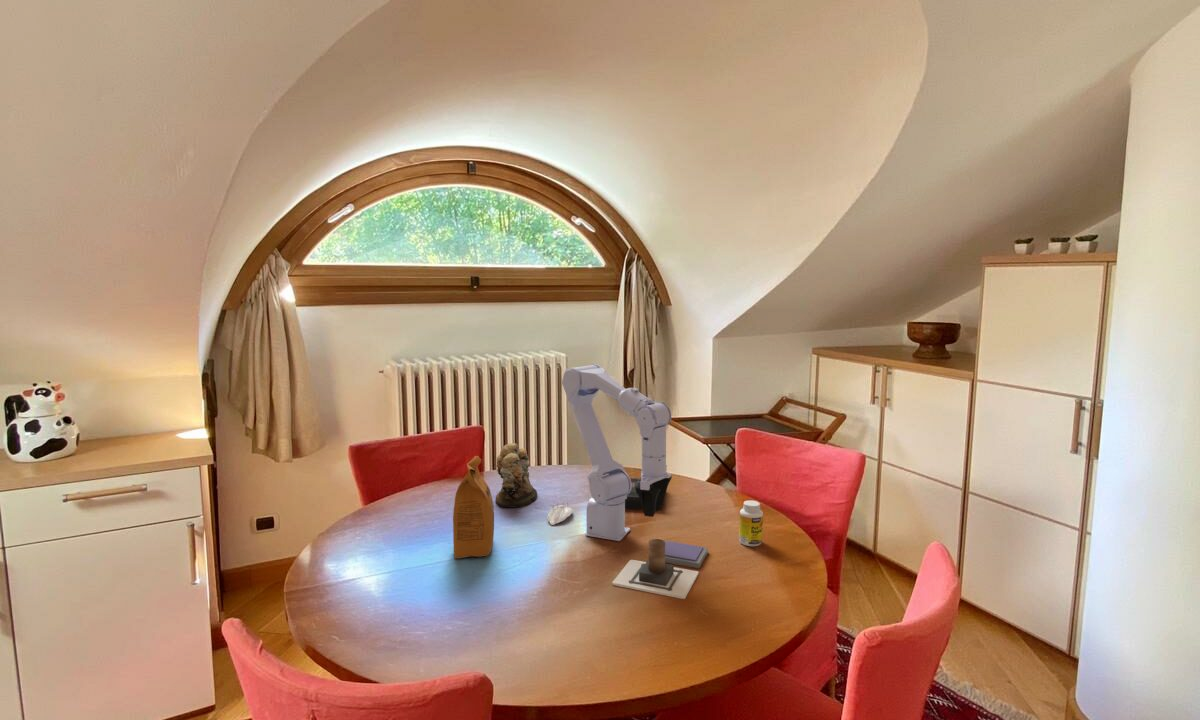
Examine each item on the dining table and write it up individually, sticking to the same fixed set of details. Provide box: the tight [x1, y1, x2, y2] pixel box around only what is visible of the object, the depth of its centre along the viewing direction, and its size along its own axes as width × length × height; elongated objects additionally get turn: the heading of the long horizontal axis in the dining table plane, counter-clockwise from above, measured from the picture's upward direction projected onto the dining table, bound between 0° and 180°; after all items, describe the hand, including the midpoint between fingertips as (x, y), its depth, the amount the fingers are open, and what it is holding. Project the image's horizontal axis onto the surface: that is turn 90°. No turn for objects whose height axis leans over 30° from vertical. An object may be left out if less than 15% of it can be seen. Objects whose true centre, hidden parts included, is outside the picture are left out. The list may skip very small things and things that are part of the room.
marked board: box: [611, 559, 699, 600], centre depth 139 cm, size 16×12×1 cm
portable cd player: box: [625, 477, 663, 511], centre depth 188 cm, size 16×17×4 cm
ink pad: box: [663, 539, 709, 569], centre depth 150 cm, size 11×9×2 cm
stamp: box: [639, 538, 675, 586], centre depth 138 cm, size 6×6×8 cm
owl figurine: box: [495, 442, 538, 509], centre depth 187 cm, size 18×12×17 cm, turn 176°
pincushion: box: [546, 504, 574, 526], centre depth 173 cm, size 12×6×6 cm, turn 164°
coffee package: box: [452, 455, 495, 560], centre depth 152 cm, size 10×12×22 cm
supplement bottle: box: [738, 500, 764, 547], centre depth 157 cm, size 6×6×10 cm
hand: (654, 510), depth 151 cm, fingers open, 7 cm apart
